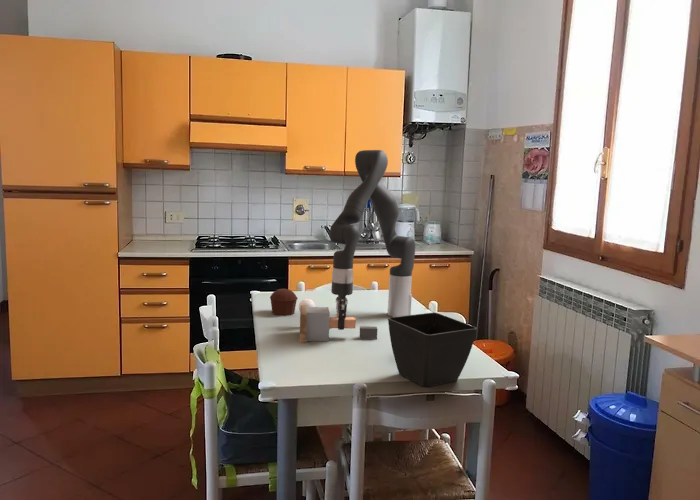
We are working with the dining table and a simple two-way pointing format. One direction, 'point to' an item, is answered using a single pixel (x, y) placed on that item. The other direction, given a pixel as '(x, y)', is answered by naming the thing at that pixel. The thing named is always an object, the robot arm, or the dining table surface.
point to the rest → (368, 332)
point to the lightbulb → (307, 303)
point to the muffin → (283, 302)
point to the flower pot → (430, 347)
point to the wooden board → (303, 323)
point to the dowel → (348, 323)
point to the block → (317, 324)
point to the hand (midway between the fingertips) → (340, 327)
